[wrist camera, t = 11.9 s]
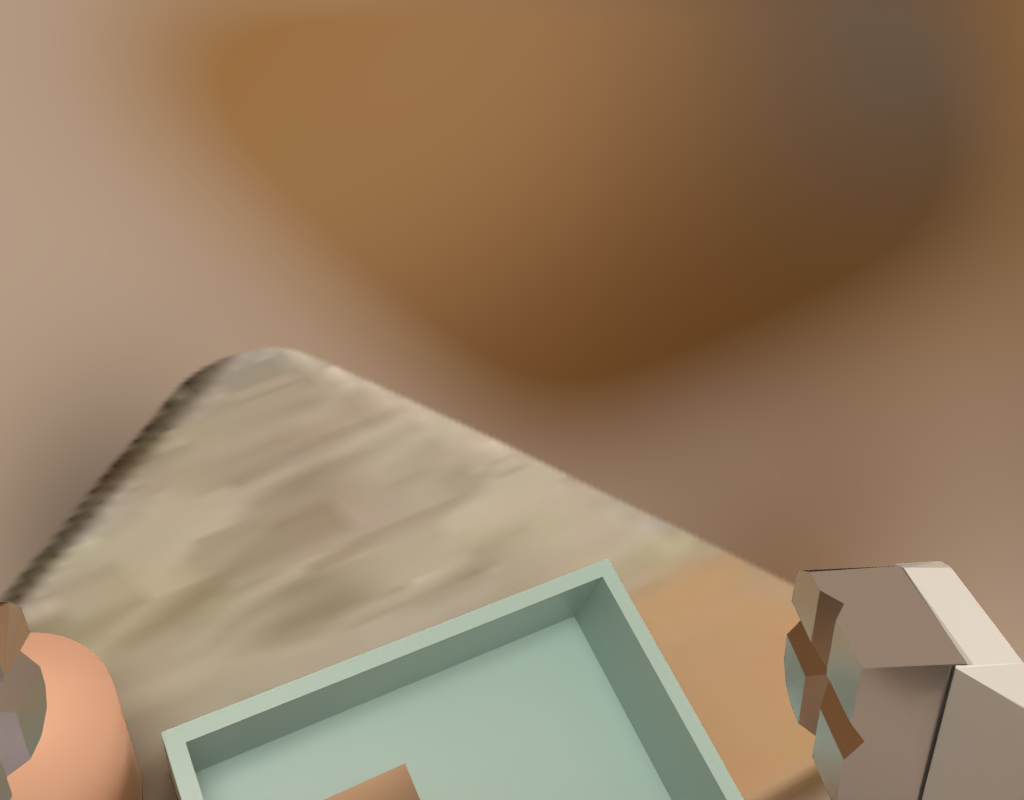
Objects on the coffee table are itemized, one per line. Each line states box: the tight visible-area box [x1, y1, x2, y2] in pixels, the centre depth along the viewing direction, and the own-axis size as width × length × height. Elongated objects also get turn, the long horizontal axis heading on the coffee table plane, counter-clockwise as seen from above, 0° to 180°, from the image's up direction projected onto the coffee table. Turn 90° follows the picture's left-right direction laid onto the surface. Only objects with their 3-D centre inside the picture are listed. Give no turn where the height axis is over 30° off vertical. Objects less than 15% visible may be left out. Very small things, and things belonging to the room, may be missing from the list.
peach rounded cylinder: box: [7, 633, 143, 800], centre depth 30 cm, size 5×5×9 cm
